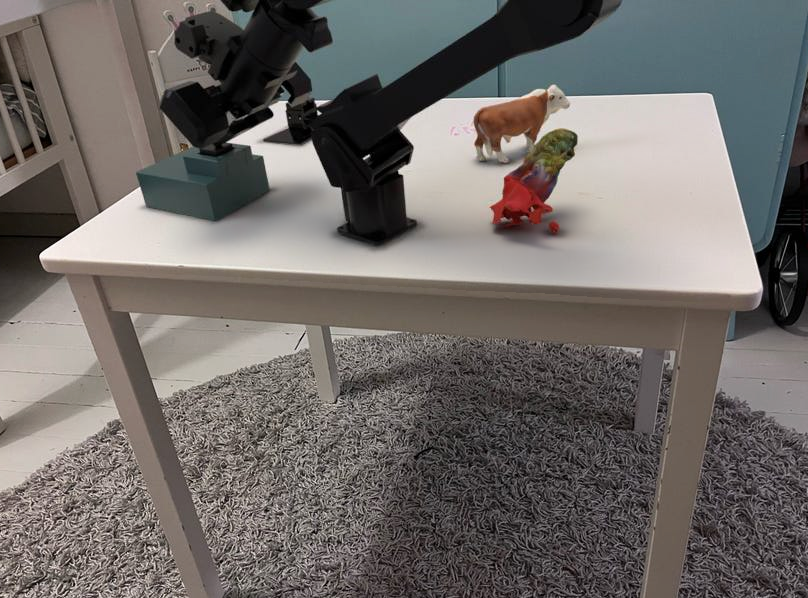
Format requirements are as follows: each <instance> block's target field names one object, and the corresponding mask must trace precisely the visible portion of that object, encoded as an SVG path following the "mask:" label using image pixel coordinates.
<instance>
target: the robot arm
mask: <svg viewBox="0 0 808 598" xmlns="http://www.w3.org/2000/svg"><path fill="white" fill-rule="evenodd" d="M219 1H220V2H221V3H222V4H223V6H225V8H226V9H227V10H228V11H229V12H231V13H232V12H239V11H242V12H243V13H250V12H252V11H253V12H252V13H251V15H250V17H249V19H248V21H247V23H246V25H245V27H244V28H242V27H241V26H239V25H238V24H236V23H235V22H234V21H231V20H230V19H228V18H227V17H225V16H224V15H222V14H221V13H218V12H217V11H216V12H215V11H212V10H211V11H205V12H200V13H198V14H193V15H190V16H187V17H185V19H184V20H182V21H179V22H178V26H177V27H176V29H174V31H173V34H174V42H173V43H174V46H175V49H177V50H178V51H179V52H180V53H182V54H183V55H186V56H187V57H188V58H190V59H192V60H193V59H196V58H198V59H200V60H201V61H202V62H204V63H206V64H207V65H210V66H209V68H208V70H207V74H208V75H209V76H210V77H211V79H213V80H214V81H215V82H217V81H218V82H219V83H220V84H219V85H216V84H212V85H209V86H206V87H203V85H202V84H201V83H200V82H199V81H193V80H191V81H190V80H189V81H186V82H185V81H184V82H183V83H180V84H178V85H174V86H172V87H168V88H166V89H164V91H163V94H162V96H161V98H160V100H159V105H158V106H159V109H160V110H161V112H162V113H163V114H164V115H165V116H166V118H167V119H168V120H169V121H170V122H171V123H172V124H173V125H174V127H176V129H177V130H178V131H179V132H180V133H181V134H182V136H183V137H184V138H185V139H186V140H187V141H188V142H189V144H190V145H191V147H196V148H199V149H202V148H204V147H206V146H208V145H211V144H213V145H214V146H215V147H218V146H220V145H222V144H224V143H226V142H227V143H229V142H230V141H231V140H233V139H235V138H237V137H239V136H241V135H243V134H244V133H246V132H248V131H250V130H252V129H254V128H256V127H257V126H260V125H262V124H264V123H265V122H267V121H269V120H271V119H272V118H274V116H275V115H274V111H273V110H272V109H271V108H270V107H271V106H273V105H275V104H278V103H279V101H280V100H281V98H282V95H284V94H285V90H286V92H287V93H288V94H289V95H290V96H289V98H288V99H287V102H288V103H289V104H290V105H291V107H294V106H296V105H298V104H300V103H303V102H305V101H306V100H307V98H308V97H310V96H311V93H312V92H313V86H312V80H311V79H312V78H310V77H309V75H308V74H307V73H306V72H305V71H304V70H303V69H302V67H301V66H300V65H299V64H298V63H297V59H298V57H299V56H300V54H301V53H302V51H303V49H305V50H306V51H307V52H308V53H314V52H316V51H319V50H321V49H324V48H326V47H329V46H331V45H333V42H334V40H333V36H332V32H331V30H330V28H329V25H328V21H329V19H328V18H327V16H319V15H317V13H316V12H315V11H314V10H313V9H312V8H315V7H317V6H321V5H323V4H327V3H331V2H334V0H219ZM622 2H623V0H506V1H505V2H504V3H503V5H502V6H500V9H499V10H498V11H497V12H496V13H495V14H494V15H493V16H492V17H490V18H489V19H487V20H486V21H484V22H482V23H481V24H479V25H478V26H476V27H475V28H473V29H472V30H471V31H469V32H467V33H465V34H464V35H462V36H461V37H459V38H458V39H456V40H455V41H453V42H452V43H450V44H449V45H447V46H445V47H444V48H442V49H441V50H440V51H437V53H435V54H434V55H431V56H430V57H429V58H427V59H426V60H424V61H423V62H421V63H419V64H418V65H417V66H415V67H413V68H412V69H410V70H409V71H407V72H406V73H404V74H403V75H401V76H400V77H398V78H396V79H395V80H393V81H392V82H390V83H388V84H387V85H383V86H382V83H381V80H380V77H379V75H378V74H377V73H375V74H373V75H371V76H369V77H367V78H365V79H363V80H361V81H358V82H357V83H355V84H352V85H351V86H350V85H349V86H348V87H346V88H344V89H343V90H342V91H340V92H339V93H338V95H336V97H334V98H333V99H330V100H329V101H326V102H325V103H322V104H320V105H318V106H317V112H318V113H319V114H318V116H316V118H315V119H314V120H313V121H312V123H311V129H312V131H311V137H312V139H311V141H312V146H313V148H314V151H315V153H316V155H317V158H318V160H319V162H320V164H321V167H322V169H323V171H324V173H325V176H326V177H327V180H328V183H329V185H330V186H331V187H332V188H338V189H340V191H341V199H342V205H343V214H344V220H345V223H344V224H342V225H339V226H338V227H337V228H336V231H337V233H338V234H340V235H343V236H346V237H349V238H351V239H354V240H358V241H360V242H364V243H367V244H369V245H372V246H375V247H377V246H378V247H379V246H382V245H384V244H385V243H388V242H390V241H391V240H393V239H395V238H397V237H398V236H400V235H402V234H404V233H406V232H407V231H409V230H411V229H413V228H415V227H417V225H418V220H417V219H416V218H415V219H414V218H412V217H407V216H408V215H407V206H406V205H407V204H406V193H405V181H404V180H405V179H404V174H401V173H400V172H399V171H400V170H401V169H402V168H403V167H405V166H408V165H409V164H411V161H412V157H413V155H414V154H413V153H414V150H415V147H414V145H413V143H412V142H411V141H410V140H409V139H408V138H407V137H406V135H405V134H404V133H403V132H402V131H401V130H403V128H404V127H405V125H406V124H407V123H408V122H409V121H410V120H411V119H412V118H413V117H414V116H416V115H418V114H419V113H421V112H423V111H424V110H426V109H428V108H430V107H432V106H433V105H435V104H437V103H438V102H439V101H441V100H443V99H445V98H447V97H448V96H450V95H451V94H454V93H455V92H457V91H459V90H460V89H461V88H463V87H465V86H467V85H468V84H471V83H473V82H474V81H476V80H477V79H479V78H480V77H483V76H485V75H486V74H487V73H489V72H491V71H492V70H495V69H496V68H498V67H500V66H501V65H503V64H504V63H506V62H508V61H510V60H512V59H515V58H517V57H521V56H525V55H528V54H532V53H536V52H539V51H542V50H545V49H549V48H551V47H554V46H557V45H560V44H562V43H565V42H568V41H572V40H575V39H577V38H579V37H581V36H583V35H585V33H587V32H589V31H590V30H591V29H593V28H595V27H596V26H598V25H599V24H601V23H602V22H604V21H605V20H608V18H610V17H611V16H613V14H614V13H616V12H617V11H618V9H619V8H620V6H621V5H622ZM364 158H365V159H364Z"/></svg>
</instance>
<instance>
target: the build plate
mask: <svg viewBox="0 0 808 598" xmlns="http://www.w3.org/2000/svg"><path fill="white" fill-rule="evenodd" d="M317 107H318V106H317V103H316V100H315V97H310V96H309V97H308V98H307V100H306V101H305V102H303V103H300V104H298V105H296V106H294V107H291V105H290V104H289V103H288V101H286V103H285V115H286V116H285V117H286V123H287V126H284V127H283V128H281V129H279V130H277V131H276V132H274V133H272V134H270V135H268V136H266V137H264V138H262V142H263V143H273V144H283V145H290V146H291V145H292V146H293V145H294V146H302V145H304V144H305V143H307V142H309V141H312V137H311V131H312V129H311V123H312V121H313V120H314V119H315V118H316V116H318V115H319V111H318V110H317Z"/></svg>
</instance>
